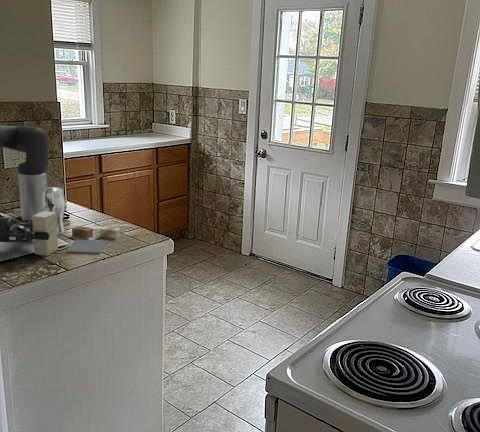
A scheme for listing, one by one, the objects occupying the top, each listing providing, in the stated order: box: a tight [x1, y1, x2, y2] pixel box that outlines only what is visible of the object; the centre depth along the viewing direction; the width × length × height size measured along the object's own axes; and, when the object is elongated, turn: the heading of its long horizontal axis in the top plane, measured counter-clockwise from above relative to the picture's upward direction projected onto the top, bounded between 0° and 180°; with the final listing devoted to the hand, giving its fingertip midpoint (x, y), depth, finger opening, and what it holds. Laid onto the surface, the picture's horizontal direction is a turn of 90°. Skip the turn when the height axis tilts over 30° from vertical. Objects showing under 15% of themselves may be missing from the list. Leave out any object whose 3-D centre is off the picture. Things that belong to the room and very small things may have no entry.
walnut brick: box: [71, 225, 94, 240], centre depth 162 cm, size 6×3×3 cm, turn 72°
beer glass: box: [42, 186, 66, 235], centre depth 162 cm, size 7×7×15 cm
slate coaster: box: [66, 239, 107, 255], centre depth 153 cm, size 10×10×1 cm
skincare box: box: [32, 211, 59, 257], centre depth 146 cm, size 6×4×12 cm
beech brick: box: [99, 226, 122, 239], centre depth 163 cm, size 6×3×3 cm, turn 81°
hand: (52, 231), depth 146 cm, fingers closed on skincare box, 7 cm apart
